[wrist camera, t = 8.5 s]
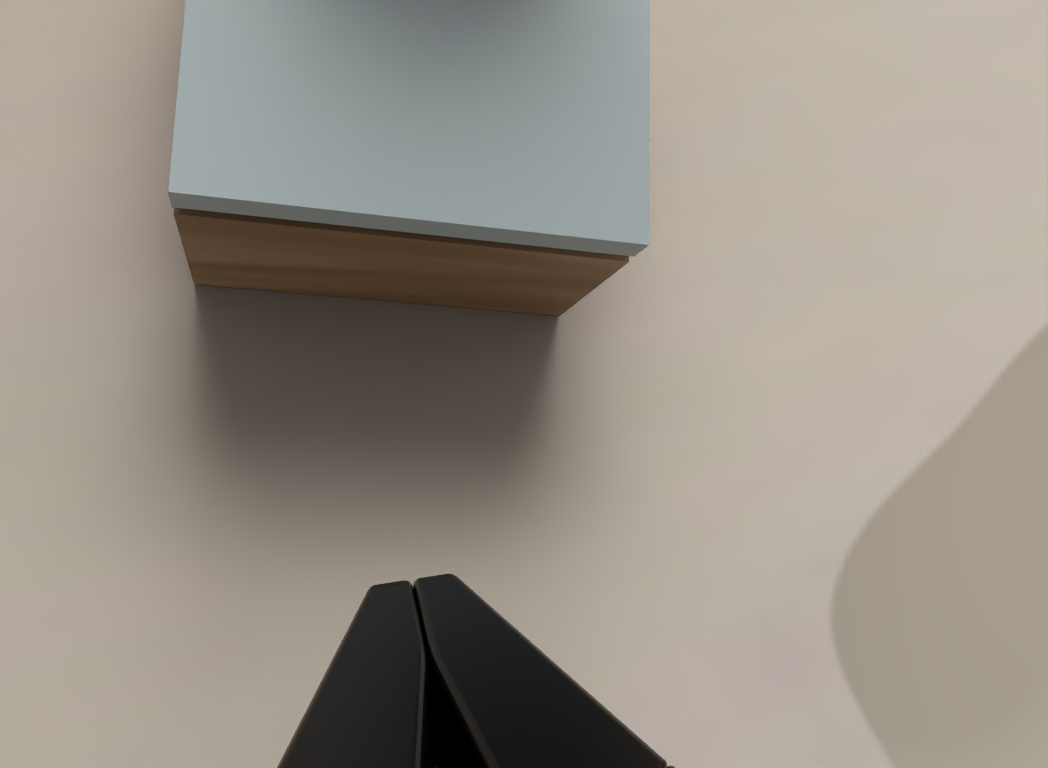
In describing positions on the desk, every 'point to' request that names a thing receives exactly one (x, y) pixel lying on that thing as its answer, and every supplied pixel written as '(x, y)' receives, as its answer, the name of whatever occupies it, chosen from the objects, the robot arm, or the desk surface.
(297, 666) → the desk surface
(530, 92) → the lid
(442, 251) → the box
